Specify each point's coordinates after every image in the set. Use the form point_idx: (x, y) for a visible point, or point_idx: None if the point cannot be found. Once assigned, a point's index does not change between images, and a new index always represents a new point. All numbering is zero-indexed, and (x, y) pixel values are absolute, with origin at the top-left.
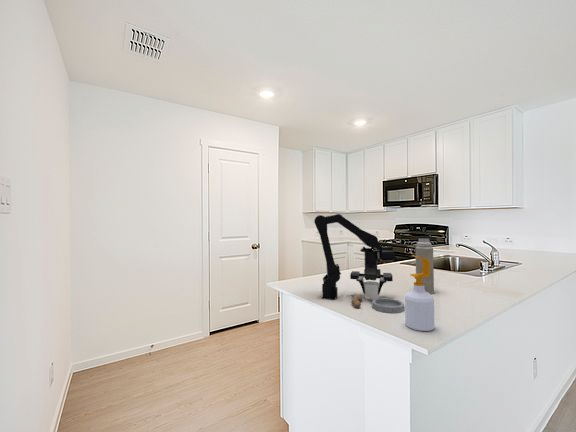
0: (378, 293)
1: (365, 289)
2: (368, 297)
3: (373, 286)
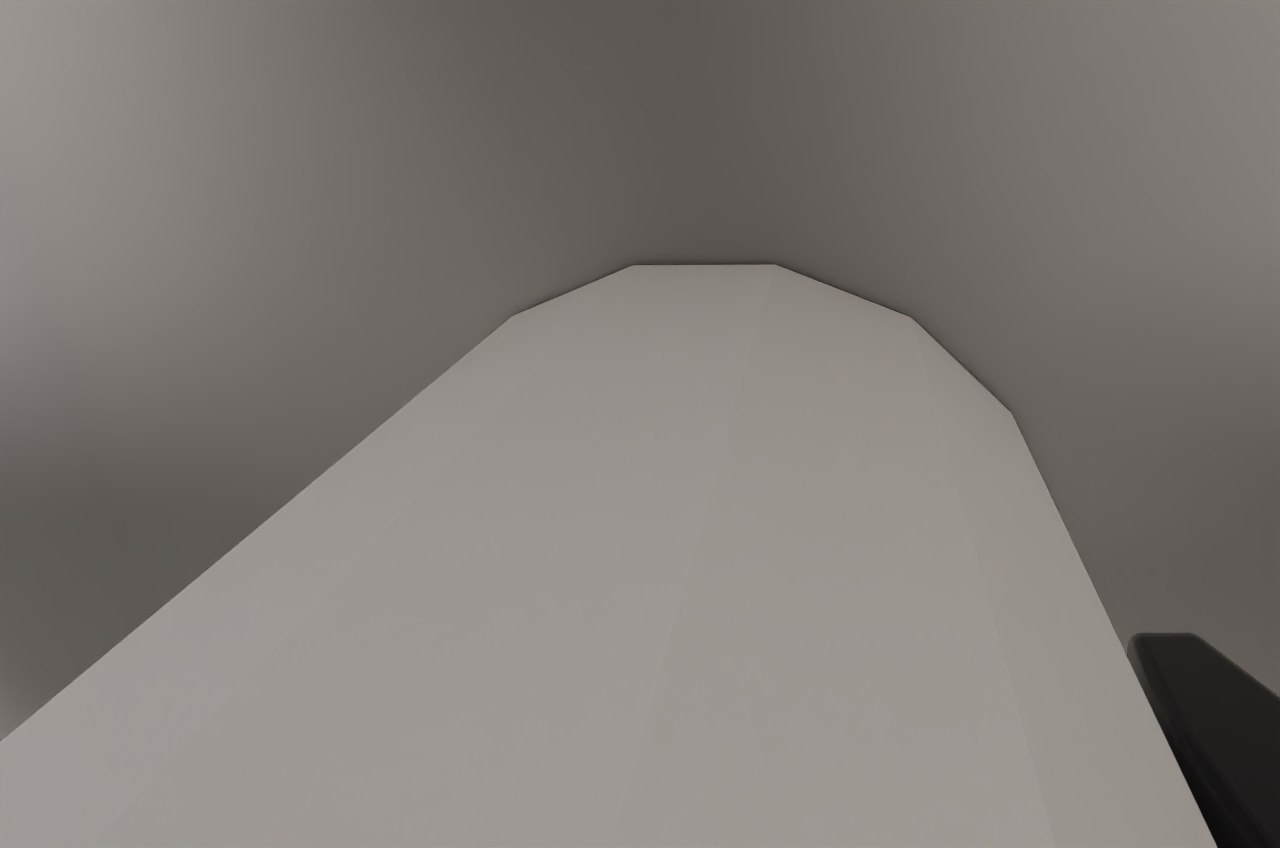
0: None
1: (1130, 716)
2: (844, 311)
3: (69, 767)
